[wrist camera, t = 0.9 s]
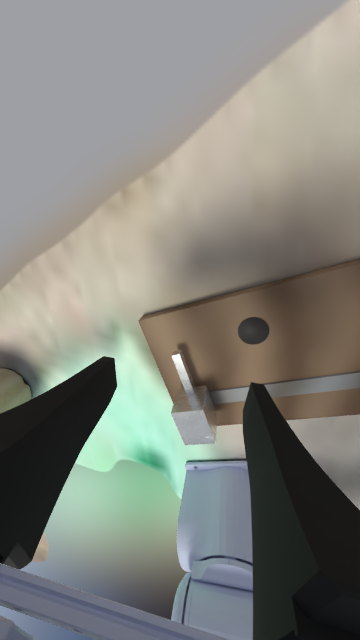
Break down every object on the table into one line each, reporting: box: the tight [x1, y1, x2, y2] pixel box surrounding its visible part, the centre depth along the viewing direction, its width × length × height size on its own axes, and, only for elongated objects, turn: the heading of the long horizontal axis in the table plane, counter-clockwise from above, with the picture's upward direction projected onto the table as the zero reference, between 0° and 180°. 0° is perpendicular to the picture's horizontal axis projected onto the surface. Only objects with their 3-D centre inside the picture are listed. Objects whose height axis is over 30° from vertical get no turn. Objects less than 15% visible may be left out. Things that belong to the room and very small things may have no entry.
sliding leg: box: [171, 350, 217, 445], centre depth 21 cm, size 3×8×3 cm, turn 19°
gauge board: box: [139, 259, 360, 426], centre depth 18 cm, size 24×14×6 cm, turn 109°
